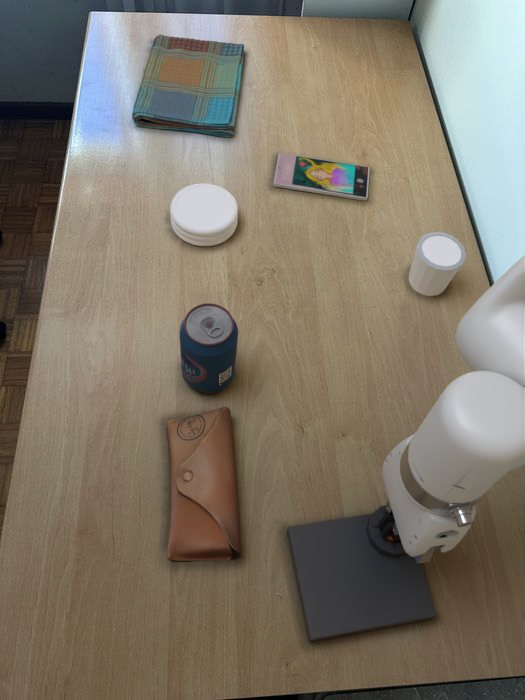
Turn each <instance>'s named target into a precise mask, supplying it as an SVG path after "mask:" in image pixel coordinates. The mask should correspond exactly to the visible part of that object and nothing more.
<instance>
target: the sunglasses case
mask: <svg viewBox="0 0 525 700" xmlns="http://www.w3.org/2000/svg"><path fill="white" fill-rule="evenodd" d="M232 420H233V419H232V412H231V409H230V408H229V407H228V406H223V407H221V408H217V409H214V410H210V411H207V412H203V413H199V414H195V415H191V416H189V417H180V418H179V417H178V418H177V417H175V418H169V419H168V420H166V422H165V427H166V429H165V430H166V436H167V446H168V467H169V469H168V470H169V516H168V517H169V521H168V533H167V534H168V535H167V546H166V547H167V548H166V557H167V559H169V560H170V561H173V562H185V563H187V562H188V563H189V562H213V561H214V562H215V561H216V562H217V561H232V560H236V559H238V558H240V557H241V556H242V544H241V542H242V541H241V540H242V539H241V523H240V508H239V507H240V506H239V494H238V483H237V482H238V481H237V468H236V454H235V442H234V441H235V440H234V429H233V421H232Z"/></svg>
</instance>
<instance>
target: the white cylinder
mask: <svg viewBox="0 0 525 700" xmlns="http://www.w3.org/2000/svg"><path fill="white" fill-rule="evenodd" d="M413 254H414V255H413V258H412V262H411V266H410V269H409V273H408V282H409V284H410V287H411V288H412V289H413V290H414V291H415V292H417V293H418V294H420V295H422V296H427V297H434V296H435V297H436V296H439V295H441V294H442V293H443V292H444V291H445V290H446V288H447V287H448V286H449V284H450V283H451V281H452V280H453V278H454V277H455V276H456V274H457V273H458V272H459V270H460V269H461V267H462V266H463V264H464V262H465V260H466V257H467V256H466V254H467V253H466V249H465V247H464V245H463V244H462V242H461V241H460V240H458V239H457V238H456V237H455V236H453V235H450V234H449V233H446V232H440V231H433V232H428V233H426V234H424V235H423V236H421V237H420V238H419V241H418V242H417V245H416V247H415V251H414V253H413Z"/></svg>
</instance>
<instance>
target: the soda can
mask: <svg viewBox="0 0 525 700" xmlns="http://www.w3.org/2000/svg"><path fill="white" fill-rule="evenodd" d="M238 340H239V328H238V324H237V322H236V321H235V318H234V317H233V316H232V314H231V313H230V312H229V310H227V309H226V308H225V307H224V306H222V305H219V304H217V303H210V302H209V303H201V304H199V305H196V306H194V307H193V308H191V309H190V310H189V311H188V312H187V314H186V316H185V317H184V318H183V320H182V321H181V322H180V326H179V348H180V349H179V350H180V351H179V352H180V368H181V375H182V378H183V381H184V382H185V383H186V384H187V385H188V386H189V387H190V388H191V389H193V390H195V391H197V392H200V393H204V394H205V393H208V394H209V393H210V394H211V393H217V392H220V391H222V390H224V389H225V388H227V387H228V386H229V385H230V384H231V383H232V381H233V380H234V377H235V375H236V368H237V367H236V365H237V352H238Z"/></svg>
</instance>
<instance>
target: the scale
mask: <svg viewBox="0 0 525 700" xmlns="http://www.w3.org/2000/svg"><path fill="white" fill-rule="evenodd" d="M386 512H387V507H386V505H381V506H379V507H378V508H377V509H376V510H375V511H373V512H372V513H366V514H360V515H355V516H349V517H342V518H337V519H336V518H335V519H329V520H324V521H323V520H322V521H317V522H312V523H311V522H310V523H305V524H298V525H292V526H288V527H287V529H286V538H287V543H288V547H289V551H290V552H289V553H290V557H291V563H292V567H293V572H294V578H295V581H296V586H297V591H298V592H297V593H298V597H299V602H300V605H301V613H302V616H303V622H304V627H305V631H306V636H307V641H308V642H309V643H311V642H316V641H322V640H327V639H332V638H338V637H342V636H348V635H354V634H358V633H363V632H368V631H374V630H379V629H385V628H389V627H395V626H400V625H405V624H410V623H411V624H412V623H415V622H422V621H427V620H432V619H433V618H435V617H437V612H436V610H435V606H434V602H433V599H432V595H431V592H430V589H429V586H428V582H427V579H426V576H425V572H424V569H423V565H422V563H421V564H417V562H416V560H415V558H414V557H412V556H410V555H408V554H407V553H406V552H405V550H404V548H403V545H402V542H401V540H399V541H398V542H397V543H392V542H390V541H387V540H386V539H385V538H382V536H381V531H380V528H379V525H378V523H379V522H380V520H381V519H382V518H383V516H384V515H385V513H386Z"/></svg>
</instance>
